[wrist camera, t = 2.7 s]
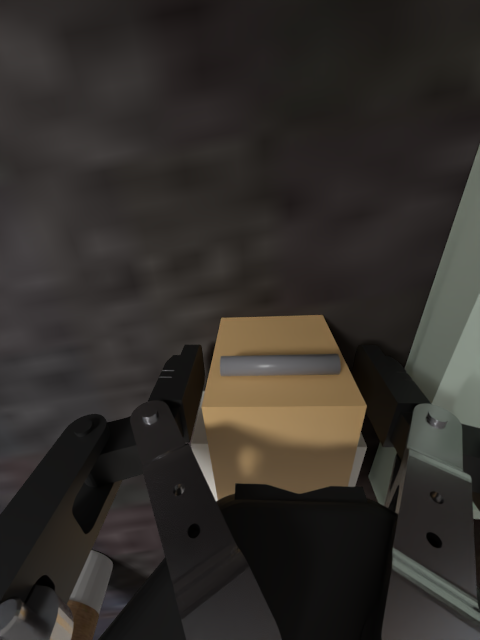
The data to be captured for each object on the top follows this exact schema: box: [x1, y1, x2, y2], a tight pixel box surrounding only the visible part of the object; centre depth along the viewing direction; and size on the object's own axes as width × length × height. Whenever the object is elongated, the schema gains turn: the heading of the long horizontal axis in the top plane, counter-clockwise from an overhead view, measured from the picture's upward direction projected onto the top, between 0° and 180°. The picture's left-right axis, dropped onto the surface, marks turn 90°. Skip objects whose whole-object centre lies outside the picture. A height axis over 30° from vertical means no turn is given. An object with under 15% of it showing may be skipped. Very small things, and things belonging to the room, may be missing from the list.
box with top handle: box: [201, 315, 367, 500], centre depth 13 cm, size 13×5×6 cm, turn 3°
